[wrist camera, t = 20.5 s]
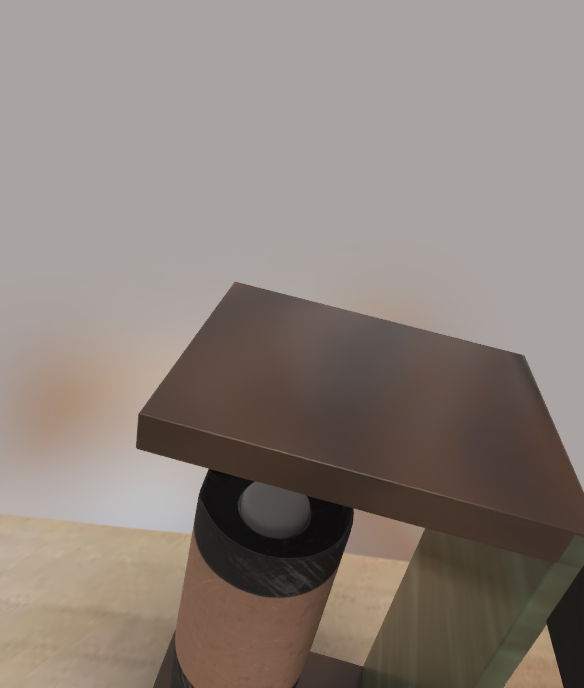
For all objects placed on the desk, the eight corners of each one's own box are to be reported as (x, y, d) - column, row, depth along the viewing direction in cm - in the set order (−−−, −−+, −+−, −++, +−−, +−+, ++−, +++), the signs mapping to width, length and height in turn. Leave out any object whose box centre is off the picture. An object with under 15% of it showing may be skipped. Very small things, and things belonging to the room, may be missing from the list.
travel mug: (303, 734, 36) (389, 518, 26) (202, 818, 31) (262, 593, 21) (237, 638, 40) (290, 426, 31) (141, 698, 36) (167, 470, 26)
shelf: (368, 685, 41) (524, 355, 27) (359, 898, 31) (605, 540, 17) (178, 629, 42) (234, 280, 28) (106, 818, 32) (137, 413, 17)
